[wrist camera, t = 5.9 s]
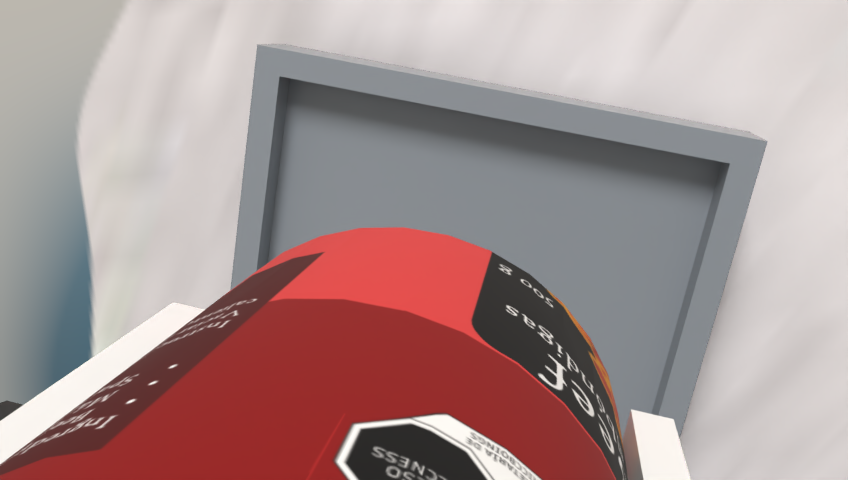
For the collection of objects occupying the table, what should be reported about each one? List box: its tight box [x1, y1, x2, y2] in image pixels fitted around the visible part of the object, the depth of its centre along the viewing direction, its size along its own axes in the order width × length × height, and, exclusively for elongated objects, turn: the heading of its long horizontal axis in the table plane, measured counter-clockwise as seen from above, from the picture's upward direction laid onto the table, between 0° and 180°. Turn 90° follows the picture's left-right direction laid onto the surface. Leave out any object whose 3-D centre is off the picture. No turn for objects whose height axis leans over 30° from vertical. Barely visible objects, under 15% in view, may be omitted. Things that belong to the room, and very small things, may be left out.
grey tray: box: [231, 44, 767, 440], centre depth 27 cm, size 21×15×4 cm
